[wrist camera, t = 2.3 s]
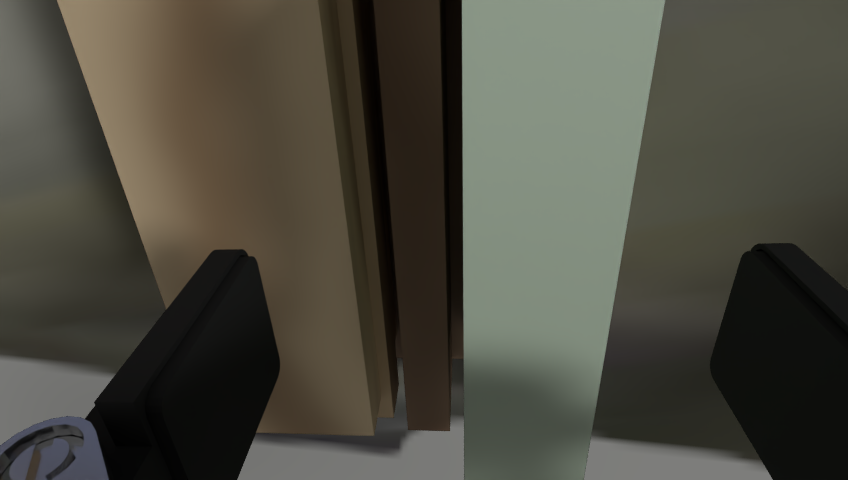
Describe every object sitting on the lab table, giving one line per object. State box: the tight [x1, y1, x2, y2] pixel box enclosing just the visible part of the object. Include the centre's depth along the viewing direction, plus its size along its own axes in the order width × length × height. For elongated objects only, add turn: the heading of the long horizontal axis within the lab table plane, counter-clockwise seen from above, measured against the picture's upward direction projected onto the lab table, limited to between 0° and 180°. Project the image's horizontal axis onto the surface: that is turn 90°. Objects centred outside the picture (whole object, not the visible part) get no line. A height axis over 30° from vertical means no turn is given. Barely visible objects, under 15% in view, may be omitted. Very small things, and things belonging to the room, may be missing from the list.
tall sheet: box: [462, 0, 665, 480], centre depth 13 cm, size 2×16×12 cm, turn 3°
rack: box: [57, 0, 464, 436], centre depth 17 cm, size 14×20×7 cm
